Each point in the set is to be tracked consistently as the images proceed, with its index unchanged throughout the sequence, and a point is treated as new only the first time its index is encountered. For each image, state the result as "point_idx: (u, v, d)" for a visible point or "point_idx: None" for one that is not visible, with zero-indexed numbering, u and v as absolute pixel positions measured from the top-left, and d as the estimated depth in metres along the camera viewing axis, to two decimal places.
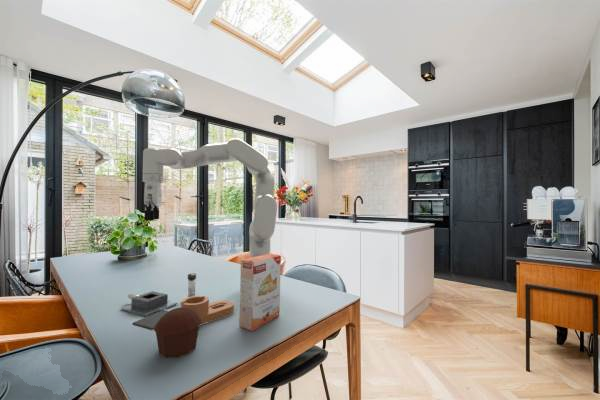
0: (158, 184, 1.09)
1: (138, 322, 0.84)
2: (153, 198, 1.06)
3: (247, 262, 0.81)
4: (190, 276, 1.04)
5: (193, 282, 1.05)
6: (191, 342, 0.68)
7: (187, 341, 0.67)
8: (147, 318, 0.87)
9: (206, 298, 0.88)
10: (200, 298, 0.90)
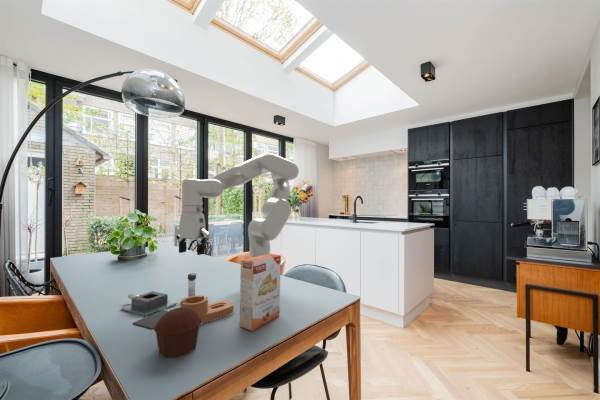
0: None
1: (138, 322, 0.84)
2: None
3: (247, 262, 0.81)
4: (190, 276, 1.04)
5: (193, 282, 1.05)
6: (191, 342, 0.68)
7: (187, 341, 0.67)
8: (147, 318, 0.87)
9: (205, 298, 0.88)
10: (199, 298, 0.90)
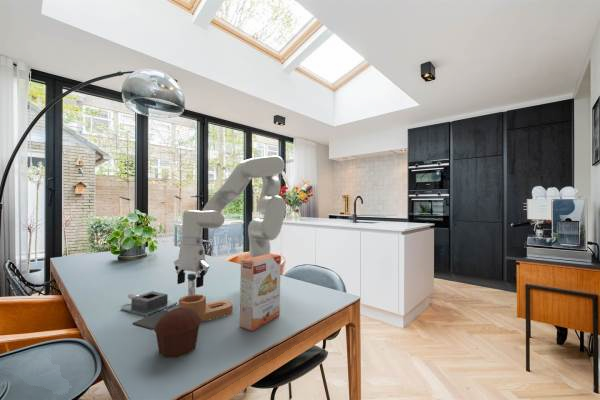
0: None
1: (138, 322, 0.84)
2: None
3: (247, 262, 0.81)
4: (190, 276, 1.04)
5: (193, 282, 1.05)
6: (191, 342, 0.68)
7: (187, 341, 0.67)
8: (147, 318, 0.87)
9: (203, 297, 0.89)
10: (198, 297, 0.91)
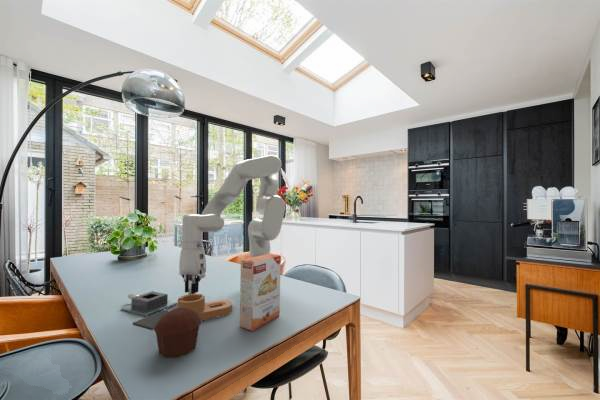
0: None
1: (138, 322, 0.84)
2: (204, 266, 1.05)
3: (247, 262, 0.81)
4: (190, 276, 1.04)
5: None
6: (191, 342, 0.68)
7: (187, 341, 0.67)
8: (147, 318, 0.87)
9: (202, 297, 0.90)
10: (198, 296, 0.91)
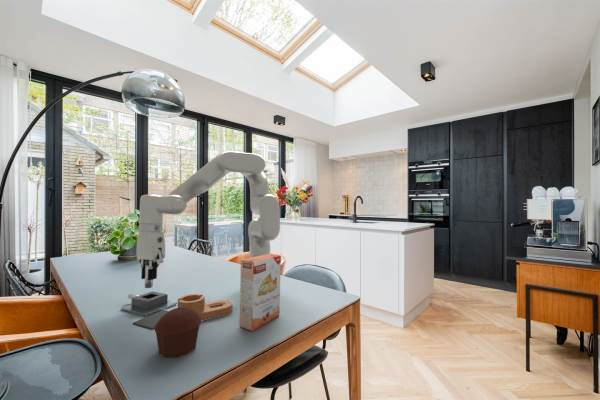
0: None
1: (138, 322, 0.84)
2: (162, 251, 0.97)
3: (247, 262, 0.81)
4: (147, 261, 0.96)
5: None
6: (191, 342, 0.68)
7: (187, 341, 0.67)
8: (147, 318, 0.87)
9: (202, 297, 0.90)
10: (198, 296, 0.91)
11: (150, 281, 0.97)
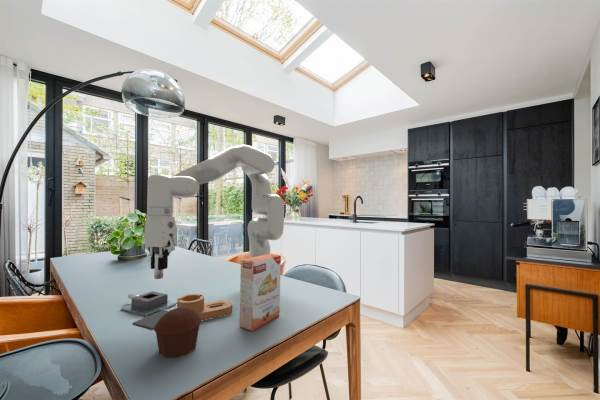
0: None
1: (138, 322, 0.84)
2: (174, 238, 0.87)
3: (247, 262, 0.81)
4: (156, 249, 0.86)
5: None
6: (191, 342, 0.68)
7: (187, 341, 0.67)
8: (147, 318, 0.87)
9: (202, 297, 0.89)
10: (198, 296, 0.91)
11: (160, 271, 0.87)
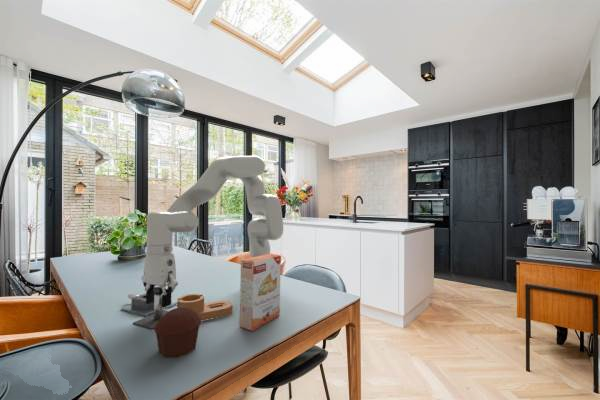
0: None
1: (138, 322, 0.84)
2: (173, 275, 0.87)
3: (247, 262, 0.81)
4: (156, 290, 0.86)
5: (160, 297, 0.86)
6: (191, 342, 0.68)
7: (187, 341, 0.67)
8: (147, 318, 0.87)
9: (202, 297, 0.89)
10: (198, 296, 0.91)
11: (160, 312, 0.86)
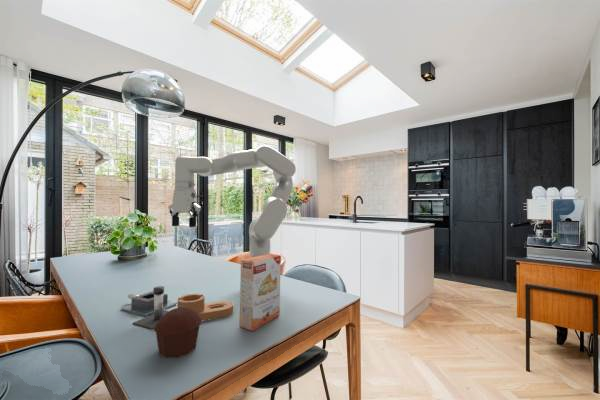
0: None
1: (138, 322, 0.84)
2: None
3: (247, 262, 0.81)
4: (156, 290, 0.86)
5: (160, 297, 0.86)
6: (191, 342, 0.68)
7: (187, 341, 0.67)
8: (147, 318, 0.87)
9: (202, 297, 0.89)
10: (198, 296, 0.91)
11: (160, 312, 0.86)
